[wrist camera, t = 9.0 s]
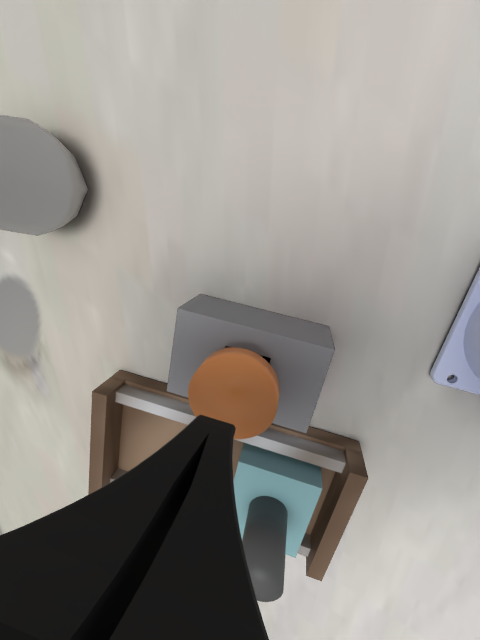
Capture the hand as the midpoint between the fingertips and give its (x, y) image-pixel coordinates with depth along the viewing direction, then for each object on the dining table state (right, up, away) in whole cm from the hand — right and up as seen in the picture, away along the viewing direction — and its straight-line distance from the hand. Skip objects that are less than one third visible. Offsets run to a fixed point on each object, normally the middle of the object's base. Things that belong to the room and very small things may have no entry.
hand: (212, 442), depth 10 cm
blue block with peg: (+3, -7, +10) cm, 12 cm away
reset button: (+1, +2, +6) cm, 7 cm away
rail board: (0, -6, +11) cm, 13 cm away
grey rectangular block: (+2, +3, +8) cm, 9 cm away
